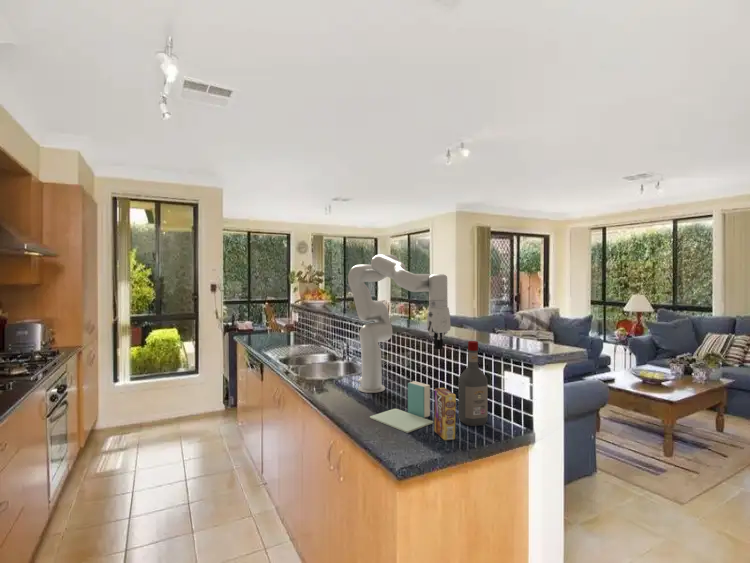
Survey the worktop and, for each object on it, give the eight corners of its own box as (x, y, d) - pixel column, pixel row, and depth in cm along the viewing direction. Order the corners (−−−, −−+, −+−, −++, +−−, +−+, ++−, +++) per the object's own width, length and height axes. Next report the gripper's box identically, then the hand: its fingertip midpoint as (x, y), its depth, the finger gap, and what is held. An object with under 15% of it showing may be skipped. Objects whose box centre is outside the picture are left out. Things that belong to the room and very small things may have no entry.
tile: (407, 412, 163) (407, 382, 163) (414, 410, 166) (414, 381, 166) (423, 418, 158) (422, 387, 157) (429, 415, 160) (429, 385, 160)
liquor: (490, 424, 151) (490, 343, 150) (468, 427, 148) (468, 344, 147) (477, 416, 159) (477, 339, 159) (456, 418, 157) (456, 340, 156)
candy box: (456, 439, 137) (456, 394, 137) (444, 441, 136) (444, 395, 136) (445, 429, 146) (445, 387, 145) (434, 431, 145) (433, 388, 144)
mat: (369, 418, 158) (369, 416, 158) (395, 409, 167) (395, 408, 167) (407, 433, 143) (407, 431, 143) (433, 423, 152) (433, 421, 152)
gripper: (433, 305, 161) (433, 352, 161) (456, 303, 171) (457, 347, 171) (419, 304, 167) (419, 350, 167) (442, 302, 177) (442, 345, 177)
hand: (438, 348), depth 169 cm, fingers closed
